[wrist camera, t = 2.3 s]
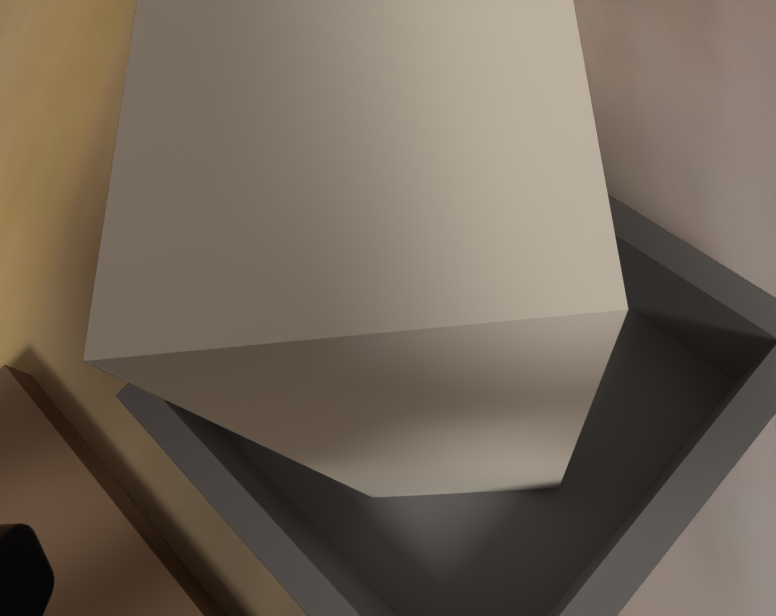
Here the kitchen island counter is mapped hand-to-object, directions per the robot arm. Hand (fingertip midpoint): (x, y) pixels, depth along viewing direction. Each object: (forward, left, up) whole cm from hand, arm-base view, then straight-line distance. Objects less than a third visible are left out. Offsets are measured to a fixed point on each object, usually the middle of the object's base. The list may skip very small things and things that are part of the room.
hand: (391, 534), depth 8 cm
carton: (+3, -3, -11) cm, 11 cm away
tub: (+3, -3, -11) cm, 12 cm away
